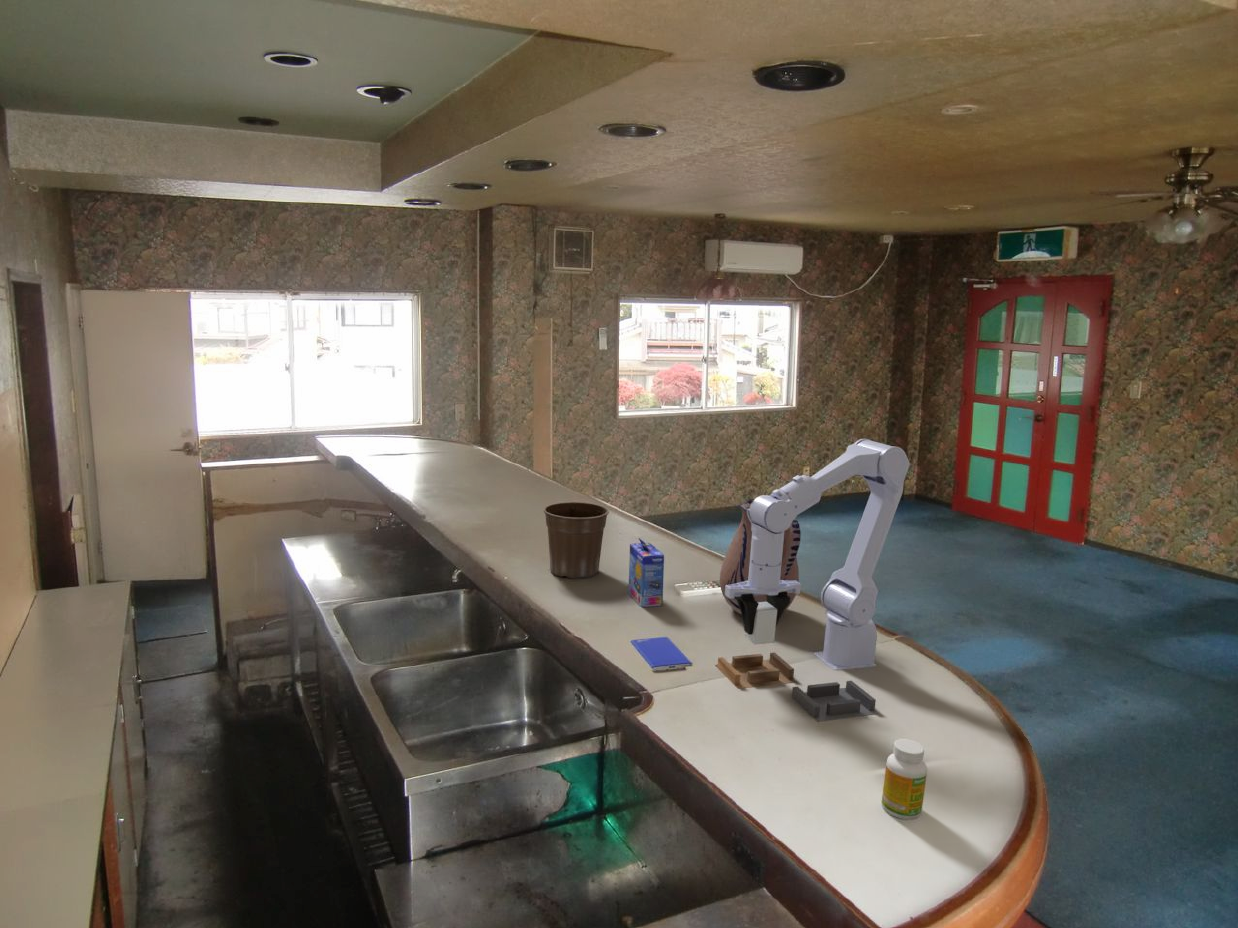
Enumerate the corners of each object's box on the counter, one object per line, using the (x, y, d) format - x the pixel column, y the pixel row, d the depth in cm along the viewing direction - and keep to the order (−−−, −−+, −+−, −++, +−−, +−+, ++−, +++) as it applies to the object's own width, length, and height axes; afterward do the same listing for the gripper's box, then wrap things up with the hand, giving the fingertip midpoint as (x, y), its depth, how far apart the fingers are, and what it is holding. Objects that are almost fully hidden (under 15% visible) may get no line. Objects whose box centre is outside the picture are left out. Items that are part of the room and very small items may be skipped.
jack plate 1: (770, 661, 165) (771, 649, 165) (796, 684, 156) (797, 671, 155) (714, 667, 161) (715, 654, 161) (737, 690, 152) (738, 678, 151)
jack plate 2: (846, 690, 155) (847, 677, 154) (878, 716, 145) (880, 703, 145) (787, 696, 151) (789, 683, 150) (817, 724, 141) (818, 710, 141)
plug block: (763, 634, 159) (766, 601, 158) (774, 642, 155) (777, 609, 154) (744, 635, 158) (747, 603, 157) (754, 644, 154) (757, 610, 153)
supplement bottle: (911, 825, 115) (920, 760, 113) (874, 808, 119) (882, 745, 117) (927, 809, 119) (936, 746, 117) (891, 793, 123) (898, 731, 121)
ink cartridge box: (626, 592, 199) (629, 533, 196) (648, 591, 201) (651, 532, 198) (640, 607, 190) (643, 546, 187) (663, 606, 192) (667, 545, 189)
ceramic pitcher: (758, 593, 203) (767, 492, 198) (824, 624, 186) (835, 514, 181) (701, 605, 193) (709, 499, 188) (764, 638, 176) (775, 523, 171)
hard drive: (630, 639, 170) (652, 666, 158) (668, 636, 172) (692, 661, 161) (630, 647, 170) (651, 673, 158) (667, 643, 172) (691, 669, 161)
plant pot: (529, 566, 214) (531, 505, 211) (583, 557, 223) (585, 498, 220) (563, 586, 201) (565, 520, 198) (618, 575, 210) (621, 513, 207)
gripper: (739, 570, 148) (733, 643, 151) (812, 566, 152) (804, 636, 155) (722, 558, 154) (716, 627, 157) (792, 554, 159) (785, 622, 162)
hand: (759, 631), depth 157 cm, fingers closed on plug block, 4 cm apart
